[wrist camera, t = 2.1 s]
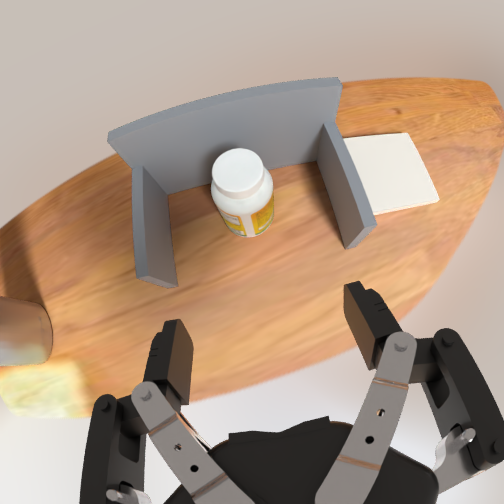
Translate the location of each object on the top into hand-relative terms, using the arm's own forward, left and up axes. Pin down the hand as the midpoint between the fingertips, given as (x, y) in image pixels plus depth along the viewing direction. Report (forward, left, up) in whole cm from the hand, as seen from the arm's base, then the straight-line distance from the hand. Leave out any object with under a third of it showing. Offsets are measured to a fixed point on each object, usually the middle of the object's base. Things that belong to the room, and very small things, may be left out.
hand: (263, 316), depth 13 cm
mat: (+18, +13, -14) cm, 26 cm away
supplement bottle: (0, +11, -14) cm, 18 cm away
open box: (0, +11, -14) cm, 18 cm away
